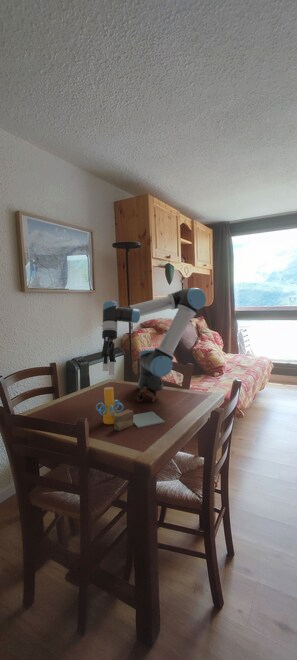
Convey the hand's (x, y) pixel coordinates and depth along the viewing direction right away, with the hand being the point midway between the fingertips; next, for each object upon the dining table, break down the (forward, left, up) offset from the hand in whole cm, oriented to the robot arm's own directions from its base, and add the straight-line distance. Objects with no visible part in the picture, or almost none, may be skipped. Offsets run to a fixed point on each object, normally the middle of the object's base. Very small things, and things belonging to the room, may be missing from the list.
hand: (108, 372), depth 146 cm
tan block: (+1, +25, -18) cm, 31 cm away
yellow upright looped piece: (+5, +17, -18) cm, 25 cm away
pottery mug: (-19, -1, -18) cm, 26 cm away
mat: (-10, +22, -18) cm, 30 cm away
